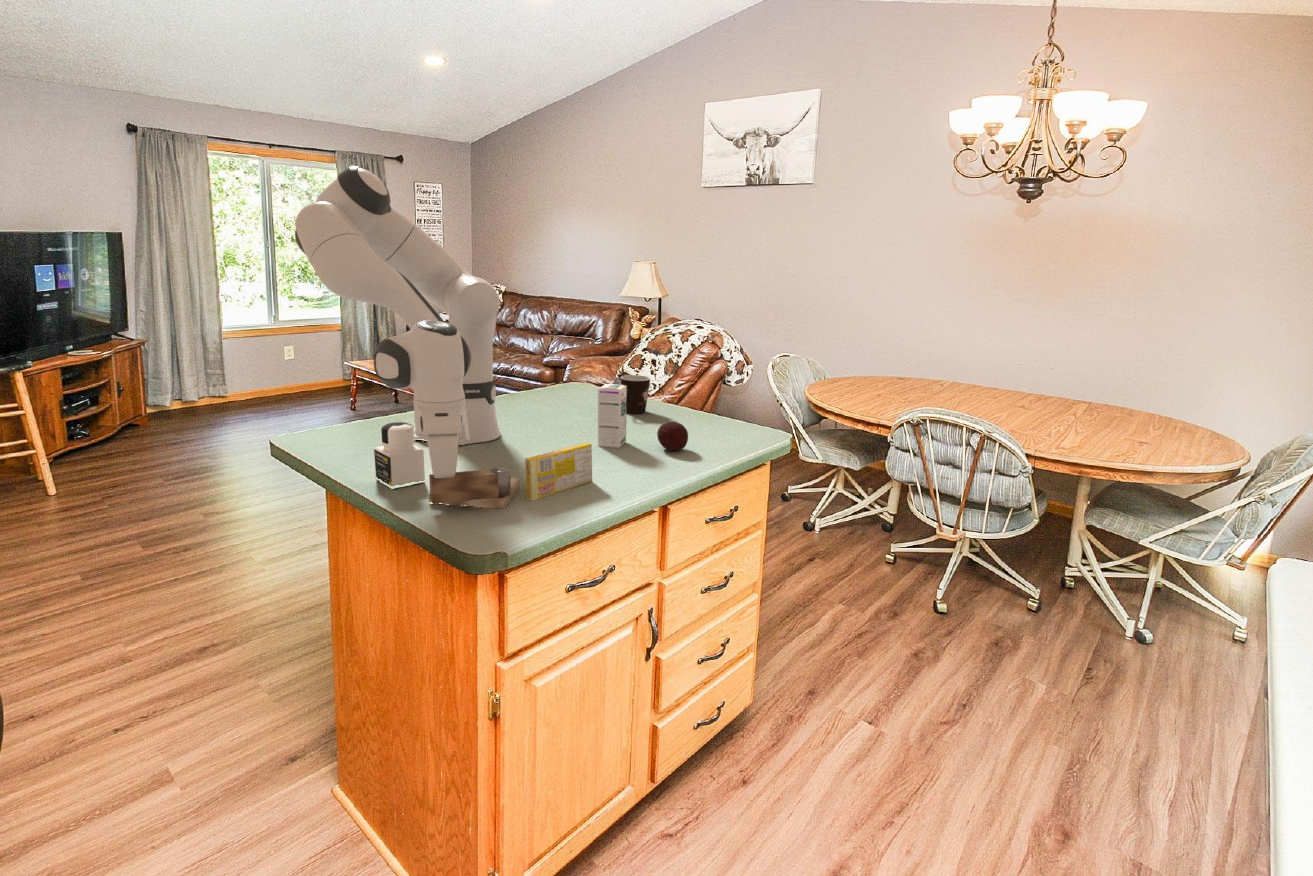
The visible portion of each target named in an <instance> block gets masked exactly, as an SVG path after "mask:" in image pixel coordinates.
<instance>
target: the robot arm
mask: <svg viewBox="0 0 1313 876" xmlns="http://www.w3.org/2000/svg"><path fill="white" fill-rule="evenodd" d="M390 204H391V196H390V191H389V189H388V188H387V186H386V185H385V183H384V182H383V181H382V180H381V179H380V178H379V177H378V176H377V175H376V174H374V173H373V172H371V170H368V169H367V168H365V167H362V166H359V165H358V166H356V165H351V166H348V167H347V168H346V169H344V170H342V171H341V172H340V173H339V174H337V177H336V179H334V180H333V181H332V182H330V184H328V185H327V187H326V188H324V189H323V191H322V192H320V194H319V195H318V196H317V199H316V200H315V201H314V202H312V203H311V202H310V203H309V204H307V205H306V206H304V207H303V208H302V209H301V210H299V212H298V214H297V215H296V219H295V230H294V236H295V237H294V238H295V243H296V245H297V246H298V248H299V249H300V251H302V253H303V254H304V255H305V256H306V257H307V259H308V262H309V263H310V265H311V267H312V268H313V271H314V272H315V273H316V276H317V277H318V279H319V280H320V282H322V284H323V285H324V286H325V287H326V288H327V289H328V290H330V291H331V292H332V293H333V294H334V295H336V296H338V297H341V298H343V299H347V300H351V301H356V302H362V303H367V304H371V305H376V306H380V307H383V308H385V309H388V310H390V311H392V312H394V313H396V314H397V315H398V316H399V317H400V318H401V319H402V320H403V322H404V324H406V325H407V326H408V327H409V329H410V330H408V331H406V332H404V333H401V334H399V335H394V336H390V337H388V338H384V339H382V340H381V341H380V342H379V343H378V345H377V346H376V349H375V351H374V355H373V367H374V371H375V375H376V376H377V377H378V379H379V380H380V382H381V383H382V384H383V385H385V386H386V387H388V388H390V389H397V390H404V389H412V390H413V416H414V417H413V418H414V424H415V425H414V426H413V427H414V439H424V440H427V442H426V443H427V446H428V447H427V448H428V453H429V458H430V459H429V460H430V464H431V465H430V466H431V470H432V474H433V475H434V477H435V478H451V477H454V476H455V473H456V472H457V466H458V453H459V452H458V451H459V446H458V445H463V446H465V445H464V444H468V445H470V444H469V443H471V444H476V443H484V442H485V443H486V442H490V441H493V440H494V441H495V440H496V439H498V438H500V437H501V436H502V434H501V433H502V432H501V431H500V427H499V424H498V418H497V414H496V406H495V402H496V397H497V394H496V393H497V392H496V391H497V390H496V380H495V379H494V370H493V369H494V364H493V363H494V361H493V359H494V358H493V355H494V353H493V351H494V350H493V349H494V348H493V347H494V346H493V345H494V340H495V339H494V338H495V332H496V325H497V317H498V314H499V311H500V307H501V306H500V305H501V302H500V297H499V294H498V292H497V290H496V289H495V288H494V286H493V285H492V284H491V283H490V282H489V281H487V280H486V279H484V278H481V277H478V276H474V275H473V274H471V273H469V272H468V271H467V270H466V269H465V268H464V267H462V265H461V264H460V263H459V262H458V261H456V260H455V259H454V258H453V256H451V255H450V254H449V253H448V251H447V250H445V249H444V247H443V246H441V244H440V243H438V242H437V241H436V240H434V238H433V237H431V236H430V235H429V234H428V233H426V232H425V231H424V230H423V229H421V228H420V227H419V226H418V225H417V224H416V223H414V221H412V220H411V219H410V218H408V217H407V216H406V215H405V214H403V213H401V211H399V210H398V209H396V208H394V207H393V206H391V205H390ZM424 296H425V297H424ZM426 298H427V299H428V300H429V301H430V302H432V303H433V304H434V305H435V306H436V307H437V308H439V309H440V310H441V311H442V312H443V313H445V314H446V315H447V316H448V322H446V321H444V319H443V318H442V317H441V316H440V314H439V313H438V312H437V311H436V310H435V309H434V308H433V306H432V305H431V304H430V303H429V301H428V300H427V299H426Z"/></svg>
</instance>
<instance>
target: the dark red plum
mask: <svg viewBox="0 0 1313 876" xmlns="http://www.w3.org/2000/svg"><path fill="white" fill-rule="evenodd" d="M656 434H657V435H656V436H657V441H658V442H659V444H660V445H661V447H662V448H664V449H666V450H669V451H677V452H678V451H681V450H683V449H684V448H685V447H686V446H687V444H688V441H689V433H688V430H687V429H686V426H684V425H683V424H682V423H680V422H677V421H667V422H665V423H663V424H661V425H660V426H659V427H658V429H657V433H656Z"/></svg>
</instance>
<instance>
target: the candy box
mask: <svg viewBox="0 0 1313 876" xmlns="http://www.w3.org/2000/svg"><path fill="white" fill-rule="evenodd" d="M592 450H593V449H592V443H590V442H589V443H588V442H584V443H581V444H577V445H573V446H572V445H571V446H568V447H565V448H562V449H556V450H553V451H550V452H545V453H542V454H537V455H534V456H530V457H526V458H524V465H525V467H524V469H525V470H524V471H525V472H524V473H525V499H527V498H528V499H527V500H529V499H530V501H533V500H534V499H535V500H538V499H541V498H544V497H547V495H548V496H551V495H553V494H557V493H560V492H564V491H566V490H570V489H574V488H577V487H579V486H584V485H585V484H590V483H593V454H592ZM537 498H538V499H537Z"/></svg>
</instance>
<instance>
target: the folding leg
mask: <svg viewBox="0 0 1313 876" xmlns="http://www.w3.org/2000/svg"><path fill="white" fill-rule="evenodd" d="M428 475H429V476H428V477H429V478H428V479H429V494H430V499H431V501H432V503H433V504H439V503H448V502H458V501H467V500H476V499H486V498H495V497H506V496H509V495H510V494H511V478H512V476H511V475H512V474H511V469H509V468H506V467H496V468H495V467H494V468H488V469H487V468H485V469H475V470H466V471H465V470H464V471H456V473H455V476H454V477H451V478H435V477H434V475H433V473H432V474H431V473H430V474H428Z"/></svg>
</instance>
